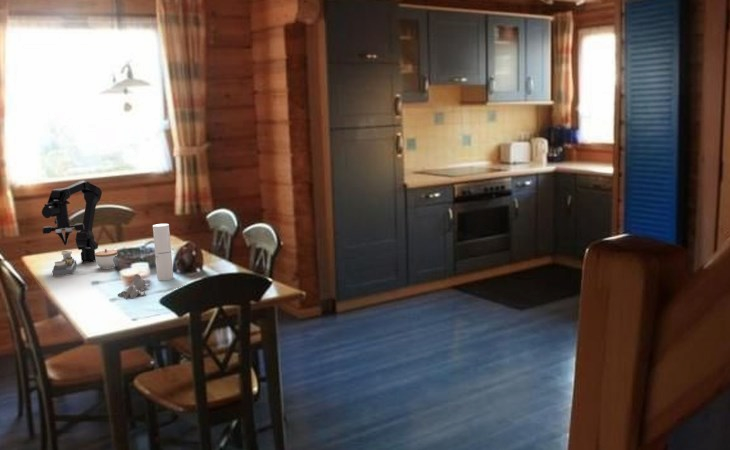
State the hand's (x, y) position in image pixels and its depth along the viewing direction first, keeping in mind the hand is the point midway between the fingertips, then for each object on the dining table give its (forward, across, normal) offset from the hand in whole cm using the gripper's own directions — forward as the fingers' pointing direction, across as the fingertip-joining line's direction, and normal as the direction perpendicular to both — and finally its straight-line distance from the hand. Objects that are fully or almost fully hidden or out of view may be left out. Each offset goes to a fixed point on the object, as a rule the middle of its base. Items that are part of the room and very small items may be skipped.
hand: (65, 245), depth 351 cm
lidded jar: (+12, -19, +8) cm, 24 cm away
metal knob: (+9, -1, +6) cm, 11 cm away
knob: (+11, +2, +12) cm, 16 cm away
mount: (+12, +1, +5) cm, 13 cm away
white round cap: (+9, 0, 0) cm, 9 cm away
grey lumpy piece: (+12, -32, +65) cm, 73 cm away
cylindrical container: (+12, -45, +44) cm, 64 cm away
